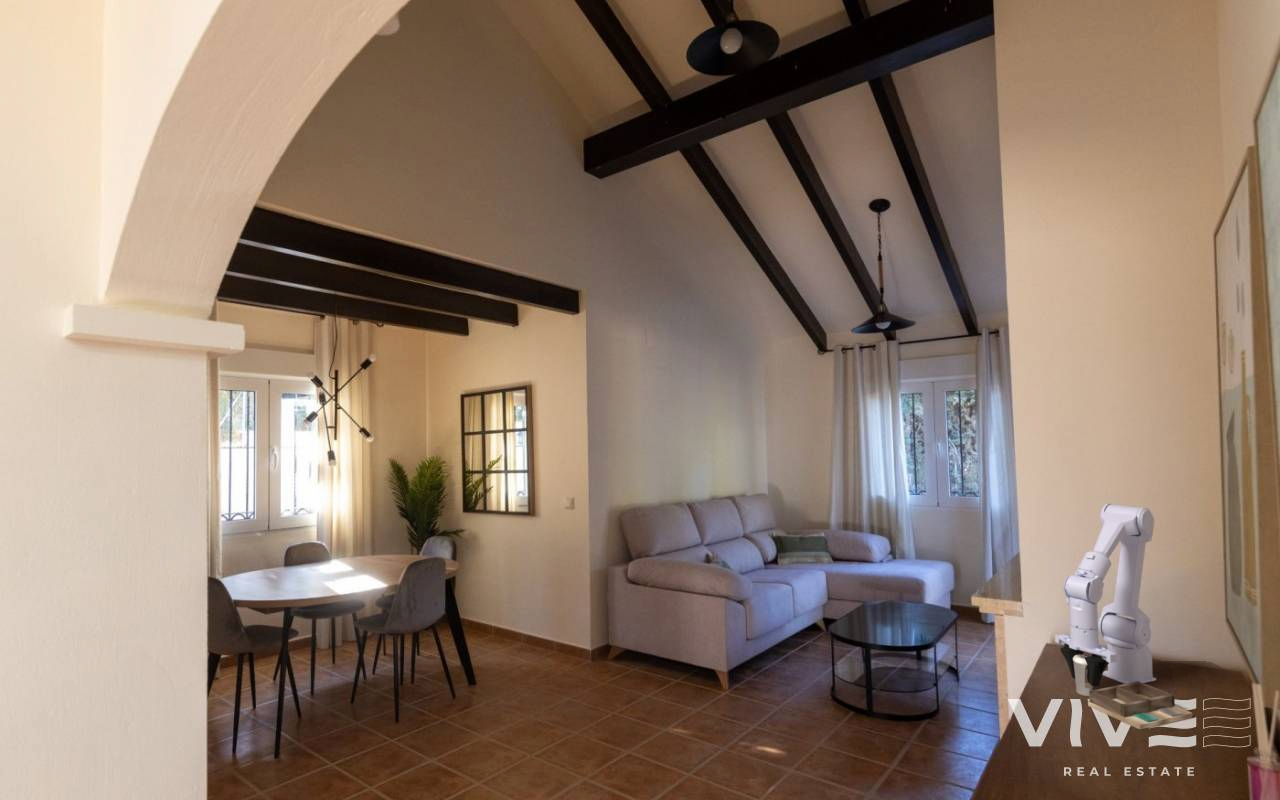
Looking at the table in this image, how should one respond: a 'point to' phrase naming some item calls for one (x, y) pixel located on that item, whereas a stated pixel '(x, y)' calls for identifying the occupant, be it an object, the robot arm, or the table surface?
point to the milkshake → (1082, 675)
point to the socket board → (1137, 705)
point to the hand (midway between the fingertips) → (1085, 681)
